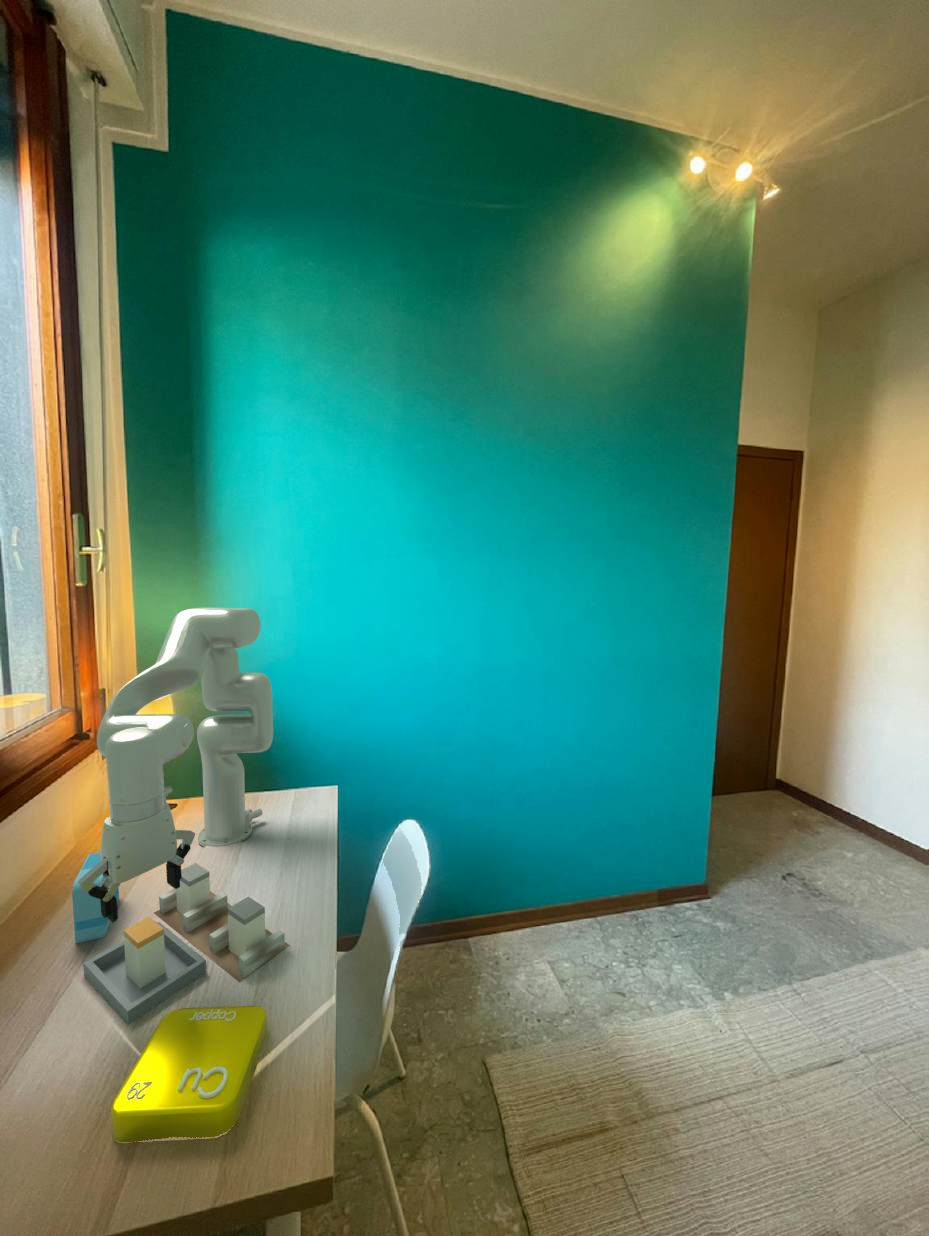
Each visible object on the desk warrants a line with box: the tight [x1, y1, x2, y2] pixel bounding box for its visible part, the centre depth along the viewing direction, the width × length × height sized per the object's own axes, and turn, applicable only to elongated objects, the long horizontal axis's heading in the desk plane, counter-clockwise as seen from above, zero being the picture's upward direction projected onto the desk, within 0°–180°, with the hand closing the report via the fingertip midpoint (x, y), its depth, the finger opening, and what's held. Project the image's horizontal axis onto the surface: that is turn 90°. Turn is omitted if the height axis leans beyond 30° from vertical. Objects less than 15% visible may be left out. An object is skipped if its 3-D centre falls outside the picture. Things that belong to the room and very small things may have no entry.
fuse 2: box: [228, 896, 266, 957], centre depth 91 cm, size 4×5×8 cm
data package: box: [71, 852, 120, 944], centre depth 97 cm, size 12×4×12 cm, turn 24°
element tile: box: [110, 1005, 267, 1142], centre depth 69 cm, size 15×15×5 cm
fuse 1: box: [176, 862, 211, 914], centre depth 100 cm, size 4×5×8 cm
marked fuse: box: [123, 916, 166, 988], centre depth 85 cm, size 4×5×8 cm
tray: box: [82, 921, 207, 1025], centre depth 85 cm, size 12×16×3 cm
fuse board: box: [153, 888, 291, 983], centre depth 96 cm, size 10×29×4 cm, turn 56°
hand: (143, 901), depth 84 cm, fingers open, 9 cm apart
